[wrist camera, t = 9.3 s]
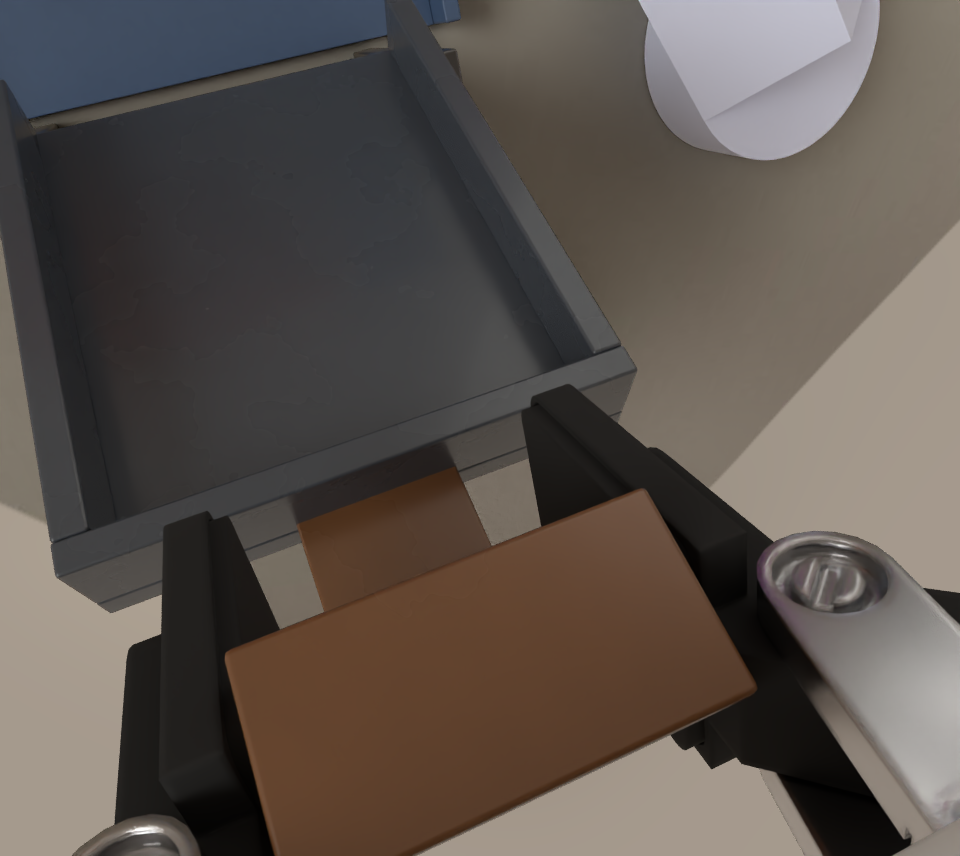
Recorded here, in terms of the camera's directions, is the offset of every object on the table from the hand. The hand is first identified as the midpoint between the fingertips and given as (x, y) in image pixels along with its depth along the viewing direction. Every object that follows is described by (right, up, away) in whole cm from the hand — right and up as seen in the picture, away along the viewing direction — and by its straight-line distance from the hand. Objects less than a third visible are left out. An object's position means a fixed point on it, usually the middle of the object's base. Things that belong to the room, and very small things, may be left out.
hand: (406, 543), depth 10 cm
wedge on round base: (+11, +20, +22) cm, 31 cm away
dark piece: (-2, +3, +5) cm, 6 cm away
